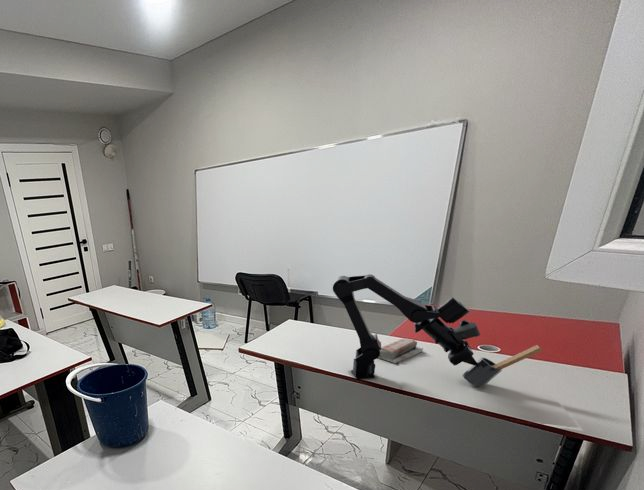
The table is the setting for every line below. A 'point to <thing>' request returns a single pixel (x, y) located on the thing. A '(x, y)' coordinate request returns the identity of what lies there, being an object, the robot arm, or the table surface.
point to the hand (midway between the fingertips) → (475, 364)
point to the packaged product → (399, 350)
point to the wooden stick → (517, 357)
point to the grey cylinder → (481, 372)
